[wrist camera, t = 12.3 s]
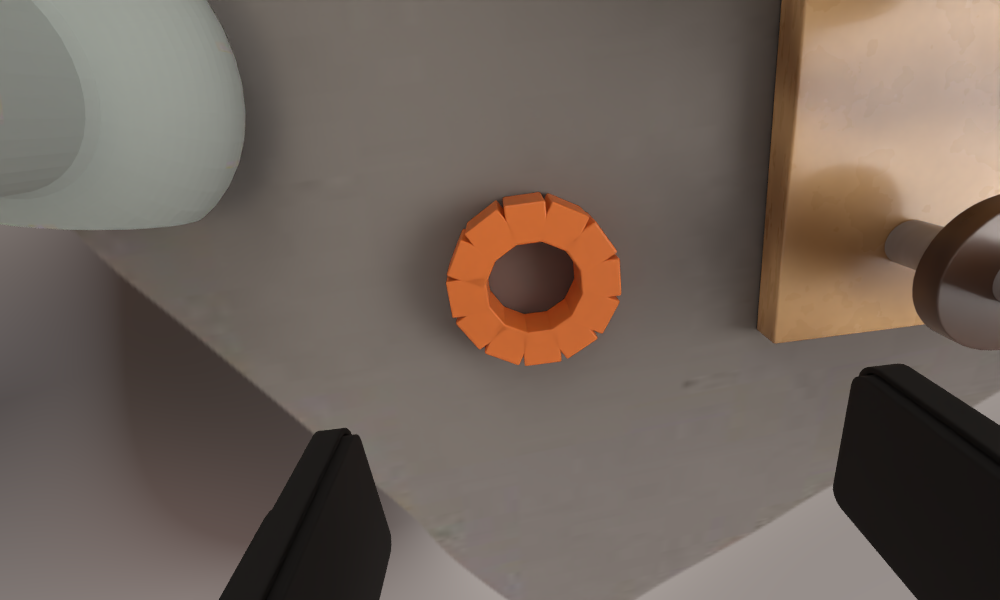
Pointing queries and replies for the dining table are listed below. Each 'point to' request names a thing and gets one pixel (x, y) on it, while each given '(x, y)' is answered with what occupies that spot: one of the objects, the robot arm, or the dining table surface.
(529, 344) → the orange ring
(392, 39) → the dining table surface
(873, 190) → the peg rack
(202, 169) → the air freshener
